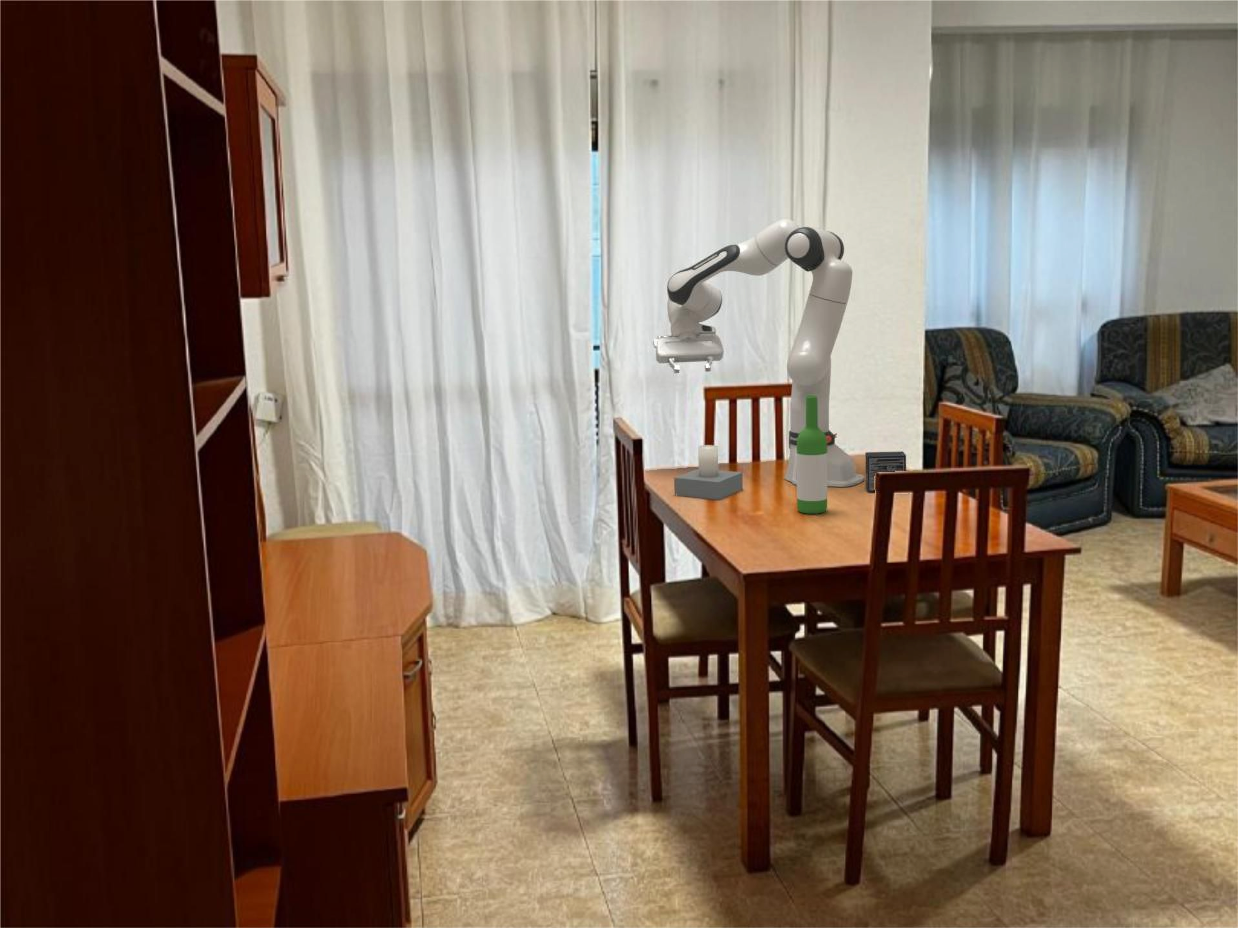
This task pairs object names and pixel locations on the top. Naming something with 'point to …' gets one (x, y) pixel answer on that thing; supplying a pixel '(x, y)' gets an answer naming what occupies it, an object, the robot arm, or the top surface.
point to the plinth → (708, 484)
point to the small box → (882, 465)
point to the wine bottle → (812, 463)
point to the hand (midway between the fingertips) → (692, 371)
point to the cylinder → (708, 460)
